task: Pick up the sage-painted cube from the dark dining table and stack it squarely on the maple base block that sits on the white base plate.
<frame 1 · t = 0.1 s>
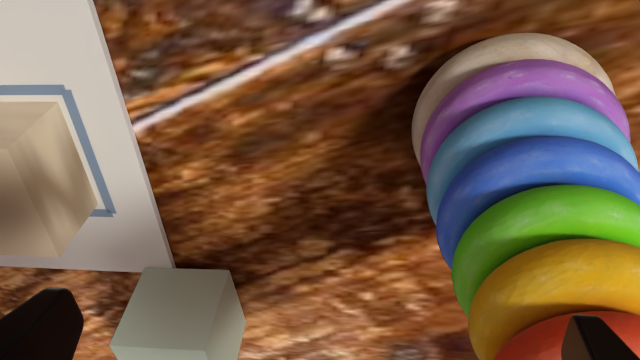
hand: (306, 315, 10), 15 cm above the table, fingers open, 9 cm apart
white base plate: (28, 150, 27), on the table
stacking toy: (505, 114, 23), on the table
maple base block: (23, 155, 27), resting on white base plate
sage cube: (197, 295, 32), on the table, tilted 5°, touching white base plate
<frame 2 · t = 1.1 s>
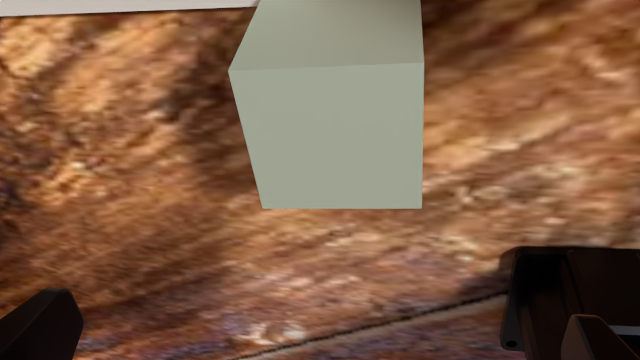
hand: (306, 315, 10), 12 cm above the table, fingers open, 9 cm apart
sage cube: (346, 57, 19), on the table, tilted 5°, touching white base plate
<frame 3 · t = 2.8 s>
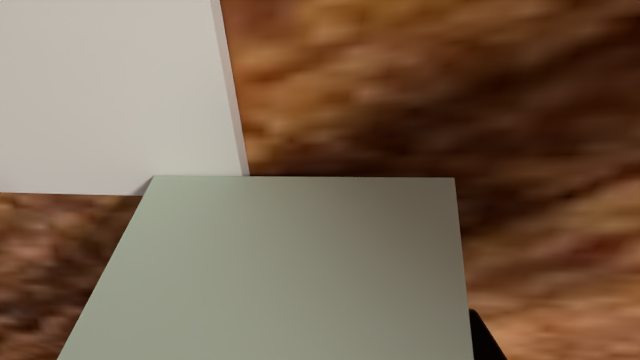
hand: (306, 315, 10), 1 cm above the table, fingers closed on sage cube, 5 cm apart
sage cube: (313, 274, 11), on the table, tilted 5°, touching white base plate, gripper
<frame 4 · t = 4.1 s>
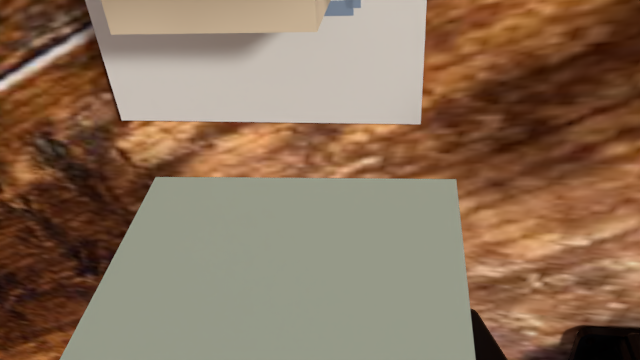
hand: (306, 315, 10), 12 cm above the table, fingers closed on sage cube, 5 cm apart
sage cube: (314, 275, 11), point 11 cm above the table, tilted 6°, touching gripper
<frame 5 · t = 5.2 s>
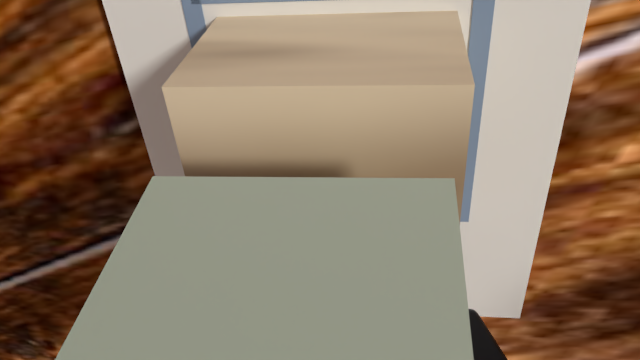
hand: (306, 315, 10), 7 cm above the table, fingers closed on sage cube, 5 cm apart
white base plate: (340, 112, 16), on the table
maple base block: (339, 119, 15), resting on white base plate
sage cube: (312, 275, 10), point 6 cm above the table, tilted 5°, touching gripper
when the fingers open (7 cm above the table, at t = 5.7 s): sage cube drops 1 cm, resting on maple base block.
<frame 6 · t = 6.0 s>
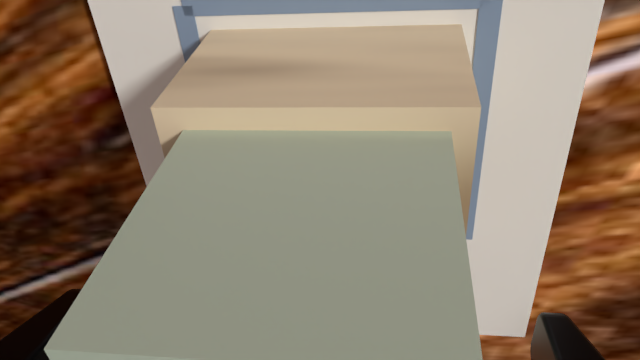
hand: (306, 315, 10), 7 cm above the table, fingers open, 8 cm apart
white base plate: (339, 127, 15), on the table
maple base block: (338, 135, 15), resting on white base plate, touching sage cube
sage cube: (321, 232, 11), point 4 cm above the table, touching maple base block
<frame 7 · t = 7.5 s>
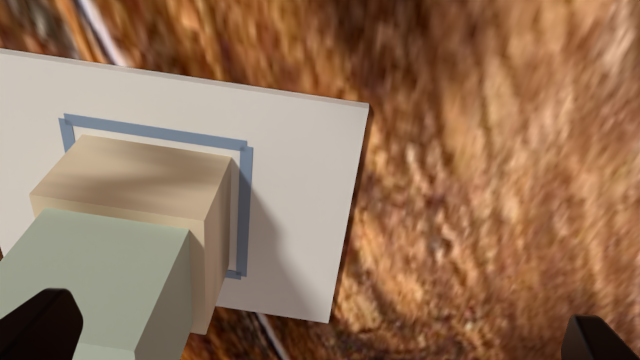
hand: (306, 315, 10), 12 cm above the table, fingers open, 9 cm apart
white base plate: (164, 198, 24), on the table
maple base block: (161, 204, 23), resting on white base plate, touching sage cube
sage cube: (124, 269, 20), point 4 cm above the table, touching maple base block
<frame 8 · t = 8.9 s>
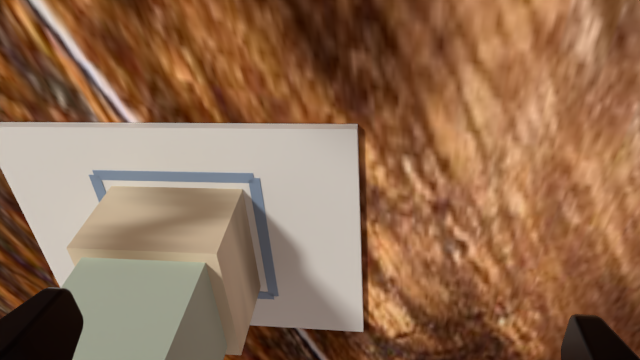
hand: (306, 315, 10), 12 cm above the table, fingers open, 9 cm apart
white base plate: (192, 233, 26), on the table
maple base block: (189, 238, 25), resting on white base plate, touching sage cube
sage cube: (158, 304, 22), point 4 cm above the table, touching maple base block
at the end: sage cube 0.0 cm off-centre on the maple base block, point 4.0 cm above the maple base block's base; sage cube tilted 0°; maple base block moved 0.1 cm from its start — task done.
